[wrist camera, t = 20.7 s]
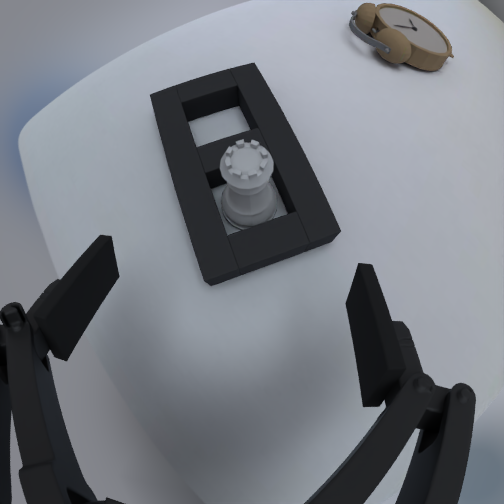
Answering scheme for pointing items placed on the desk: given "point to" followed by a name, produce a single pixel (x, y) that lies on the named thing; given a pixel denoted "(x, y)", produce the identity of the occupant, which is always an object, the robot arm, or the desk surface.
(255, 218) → the rook chess piece
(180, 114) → the socket pad
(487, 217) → the desk surface
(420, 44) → the alarm clock
